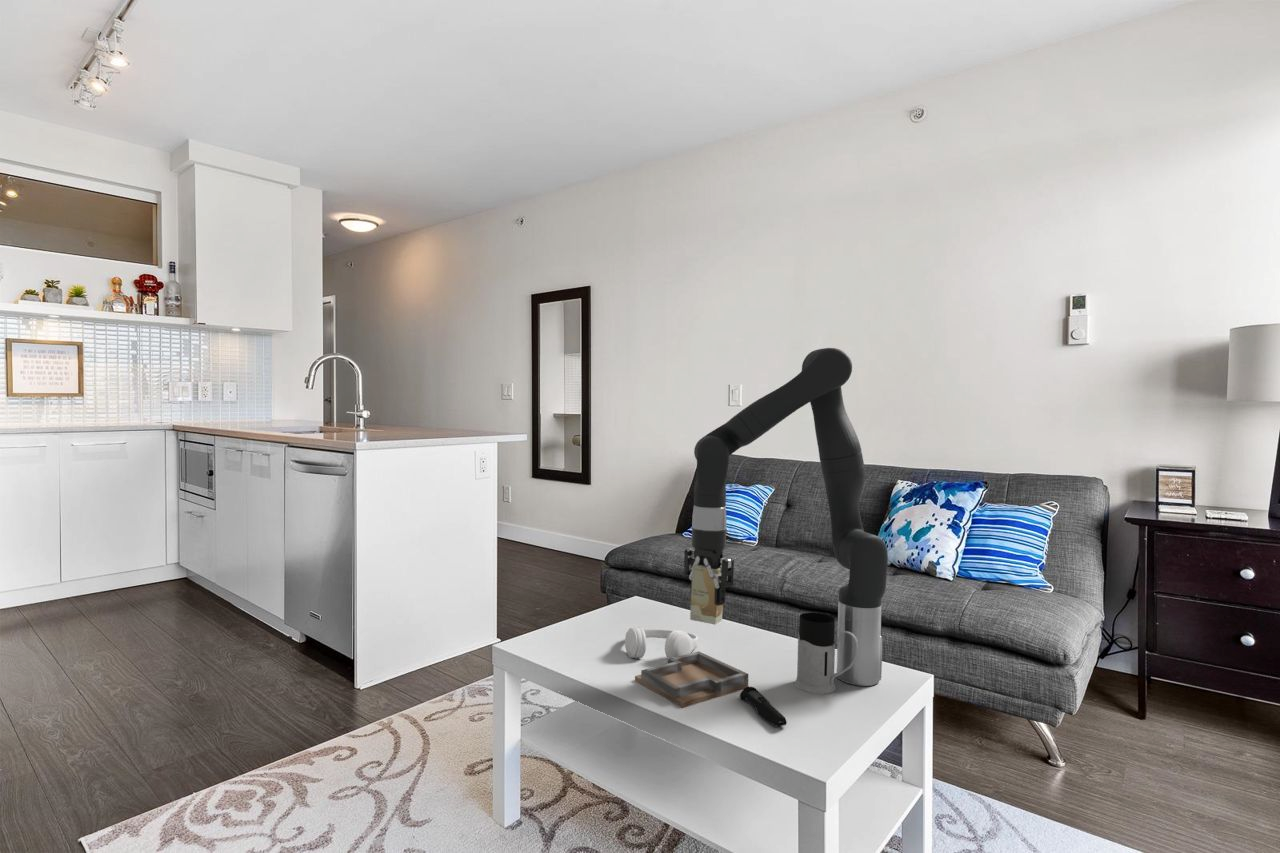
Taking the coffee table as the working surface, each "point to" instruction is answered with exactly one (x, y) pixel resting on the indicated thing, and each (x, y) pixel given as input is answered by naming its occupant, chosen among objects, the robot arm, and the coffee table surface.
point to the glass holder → (818, 653)
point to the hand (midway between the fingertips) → (707, 600)
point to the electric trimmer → (763, 706)
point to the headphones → (674, 644)
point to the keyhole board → (693, 679)
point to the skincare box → (704, 596)
